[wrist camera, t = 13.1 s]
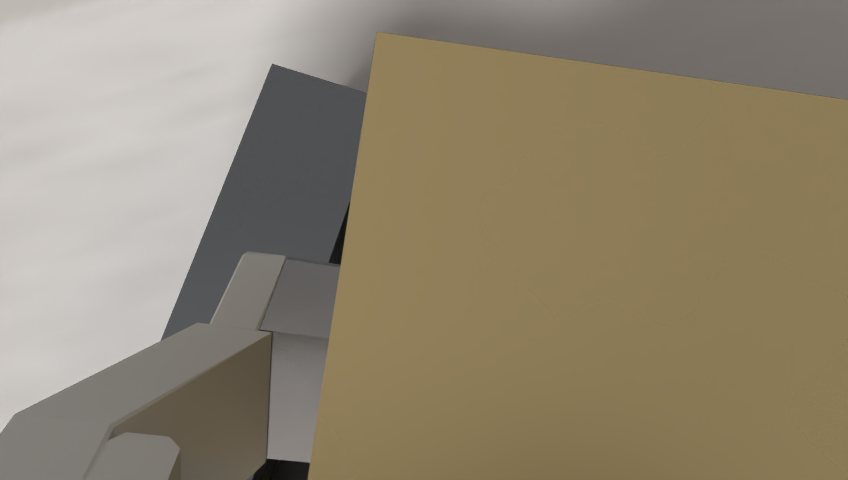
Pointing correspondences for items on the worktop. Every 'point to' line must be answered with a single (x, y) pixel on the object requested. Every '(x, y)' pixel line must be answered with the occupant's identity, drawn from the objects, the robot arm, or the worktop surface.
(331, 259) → the block
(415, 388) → the tan rectangular block
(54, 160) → the worktop surface
